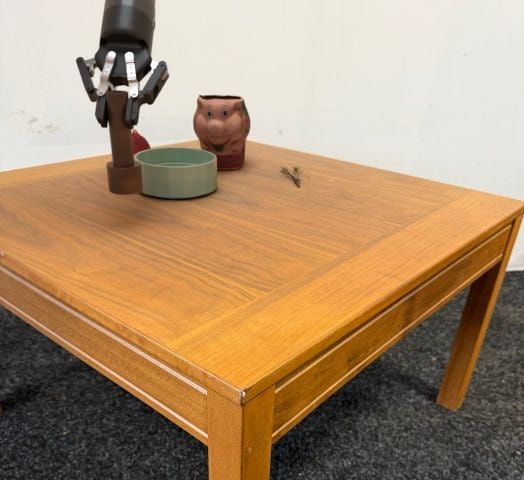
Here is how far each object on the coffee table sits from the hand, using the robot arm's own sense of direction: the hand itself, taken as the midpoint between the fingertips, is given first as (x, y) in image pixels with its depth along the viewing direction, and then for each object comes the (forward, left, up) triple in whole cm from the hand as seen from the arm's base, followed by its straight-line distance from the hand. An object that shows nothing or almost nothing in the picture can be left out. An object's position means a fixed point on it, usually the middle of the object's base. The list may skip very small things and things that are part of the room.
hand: (116, 124), depth 79 cm
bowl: (+8, +20, -15) cm, 27 cm away
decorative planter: (+18, +39, -15) cm, 46 cm away
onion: (0, +34, -15) cm, 38 cm away
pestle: (0, +2, -10) cm, 10 cm away
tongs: (+32, +27, -15) cm, 45 cm away
